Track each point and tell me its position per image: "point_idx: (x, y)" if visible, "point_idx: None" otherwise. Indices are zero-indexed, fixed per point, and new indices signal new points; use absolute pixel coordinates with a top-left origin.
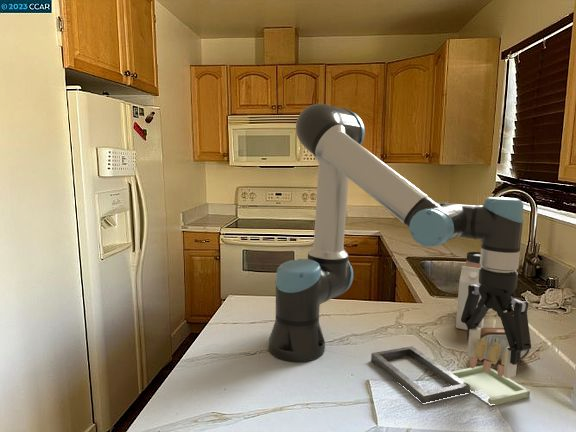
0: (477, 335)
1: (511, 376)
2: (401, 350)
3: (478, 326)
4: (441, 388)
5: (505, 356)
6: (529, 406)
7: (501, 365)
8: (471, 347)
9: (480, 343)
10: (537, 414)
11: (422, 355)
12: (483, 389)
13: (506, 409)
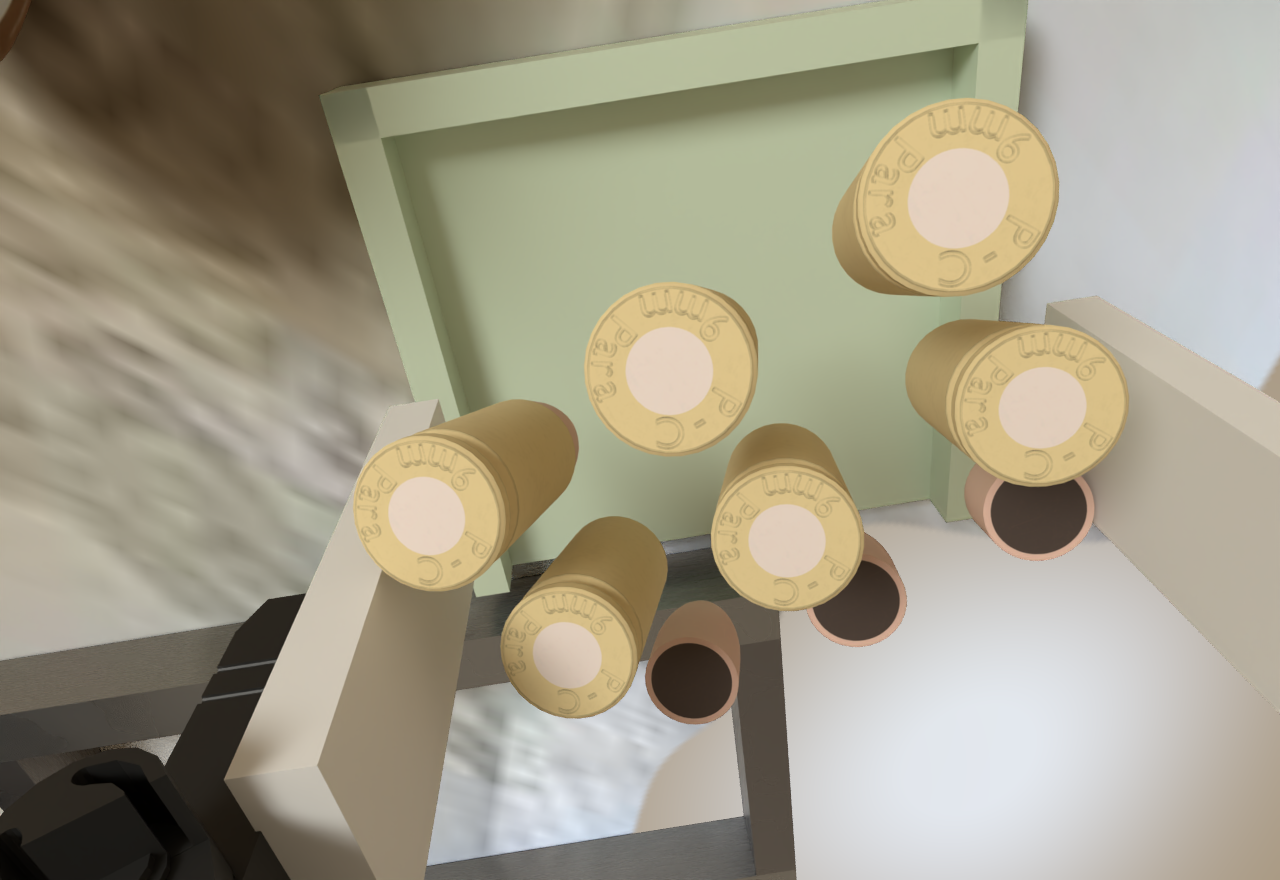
0: (388, 700)
1: None
2: None
3: (180, 796)
4: (750, 789)
5: (1228, 652)
6: (1101, 141)
7: (1055, 539)
8: (460, 625)
9: (620, 694)
10: (1214, 169)
11: (167, 717)
12: (754, 415)
13: None
